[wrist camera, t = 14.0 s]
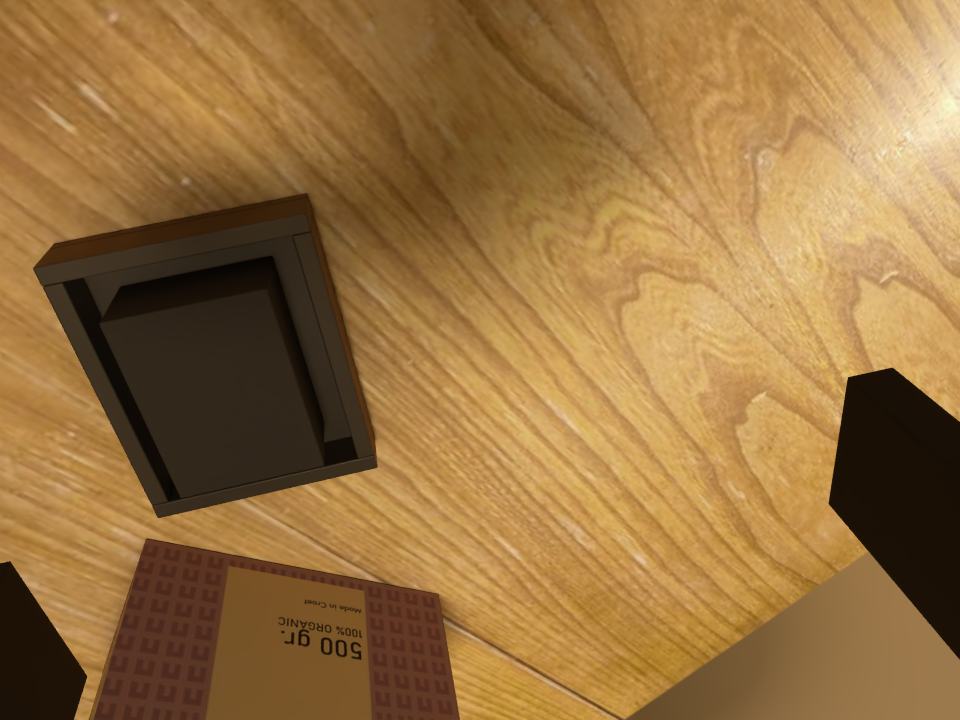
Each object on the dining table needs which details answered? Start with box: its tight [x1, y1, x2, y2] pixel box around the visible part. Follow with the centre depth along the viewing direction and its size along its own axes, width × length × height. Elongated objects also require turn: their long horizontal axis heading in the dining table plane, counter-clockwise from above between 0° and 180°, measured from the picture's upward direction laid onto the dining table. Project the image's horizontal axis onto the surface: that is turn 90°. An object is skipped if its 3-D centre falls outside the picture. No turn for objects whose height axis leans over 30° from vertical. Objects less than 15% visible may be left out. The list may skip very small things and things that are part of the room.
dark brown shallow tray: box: [33, 194, 377, 518], centre depth 34 cm, size 13×11×3 cm
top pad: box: [99, 256, 324, 498], centre depth 33 cm, size 9×6×4 cm
